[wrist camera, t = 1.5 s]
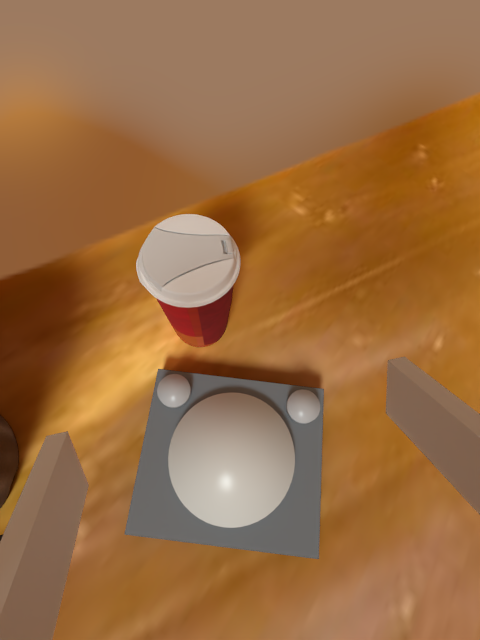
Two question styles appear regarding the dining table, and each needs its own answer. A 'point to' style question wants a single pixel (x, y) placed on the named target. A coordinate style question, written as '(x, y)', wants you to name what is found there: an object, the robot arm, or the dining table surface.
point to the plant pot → (7, 459)
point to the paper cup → (191, 275)
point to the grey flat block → (231, 465)
